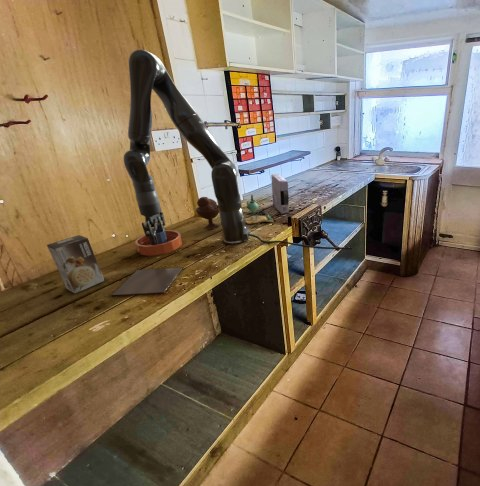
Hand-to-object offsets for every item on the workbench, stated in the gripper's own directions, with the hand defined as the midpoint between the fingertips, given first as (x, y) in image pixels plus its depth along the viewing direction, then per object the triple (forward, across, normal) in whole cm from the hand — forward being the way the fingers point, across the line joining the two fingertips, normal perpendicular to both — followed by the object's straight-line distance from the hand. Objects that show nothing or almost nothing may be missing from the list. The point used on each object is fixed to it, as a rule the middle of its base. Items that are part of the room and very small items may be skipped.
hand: (158, 240), depth 129 cm
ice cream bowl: (+3, +22, -15) cm, 27 cm away
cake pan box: (+3, +45, -47) cm, 65 cm away
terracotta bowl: (+3, 0, 0) cm, 3 cm away
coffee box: (+3, -28, +13) cm, 31 cm away
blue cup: (+3, 0, 0) cm, 3 cm away
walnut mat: (+3, -28, -8) cm, 29 cm away
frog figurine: (+3, +26, -36) cm, 45 cm away
